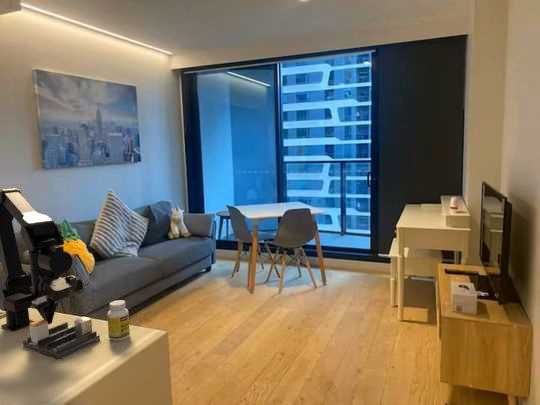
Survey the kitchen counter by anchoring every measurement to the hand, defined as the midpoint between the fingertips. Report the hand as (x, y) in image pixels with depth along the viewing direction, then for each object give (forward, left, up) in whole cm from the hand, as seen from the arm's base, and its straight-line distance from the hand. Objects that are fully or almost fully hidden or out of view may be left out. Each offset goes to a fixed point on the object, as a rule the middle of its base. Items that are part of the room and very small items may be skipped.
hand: (49, 323), depth 110 cm
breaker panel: (+4, +1, -5) cm, 6 cm away
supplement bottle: (+14, +11, -5) cm, 19 cm away
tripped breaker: (0, -3, -3) cm, 4 cm away
